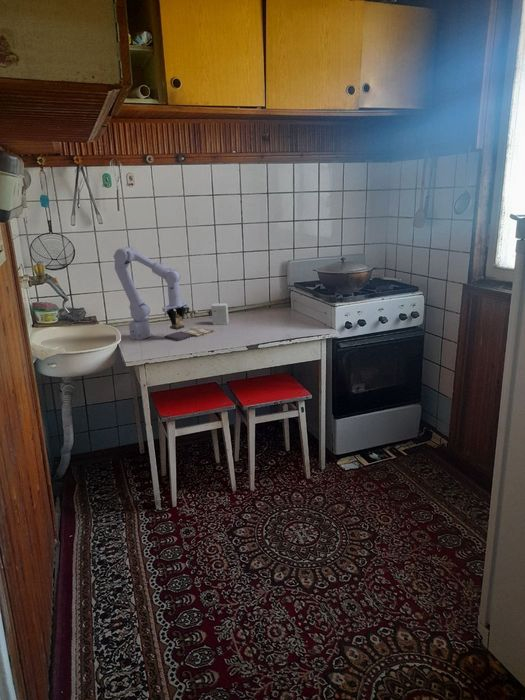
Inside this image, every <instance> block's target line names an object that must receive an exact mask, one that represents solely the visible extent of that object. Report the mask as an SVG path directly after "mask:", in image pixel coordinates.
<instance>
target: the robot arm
mask: <svg viewBox="0 0 525 700" xmlns="http://www.w3.org/2000/svg"><path fill="white" fill-rule="evenodd" d="M113 258H114V270H115V272H116V275H117V277H118V280H119V281H120V284H121V285H122V288H123V291H124V292H125V295H126V297H127V298H128V300H129V301H128V302H129V310H130V317H131V318H132V319H133V320H132V321H130V322H129V324H128V331H129V339H133V340H136V341H141V340H145V339H147V338H151V337H154V336H155V334H153V333H151V329H150V318H149V315H150V313H151V309H150V307H149V306H148V305H147V304H146V302H145V300H144V299H142V298H141V297H140V294H139V291H138V290H137V287H136V285H135V283H134V281H133V278H132V276H131V274H130V271H129V269H128V267H129V265H130V262H138V263H140V264H141V265H143V266H146V267H148V268H149V269H150V270H151V271H152V273H153V274H155V275H156V276H158V277H161V278H162V279H163V280H164V281H165V282H166V284H167V293H168V305H166V306H163V307H162V312H164V313H166V314H167V316H168V317H169V320H170V322H171V325H172V324H174V325H175V324H176V314H179V315H180V317H182V321H183V318H184V315H185V312H186V307H189V302H187V301H184V302H182V298H181V287H180V286H181V285H180V280H181V273H180V271H178V270H177V269H173V268H172V267H168V266H167V265H165V264H164V262H162V261H160V262H159V261H157V262H155V261H154V260H152V259H150V258H149V257H147V256H146V255H144V254H142V253H141V252H139V250H137V249H136V248H133V247H131V246H126V247H123V248H117V250H115V252H114V254H113Z"/></svg>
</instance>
